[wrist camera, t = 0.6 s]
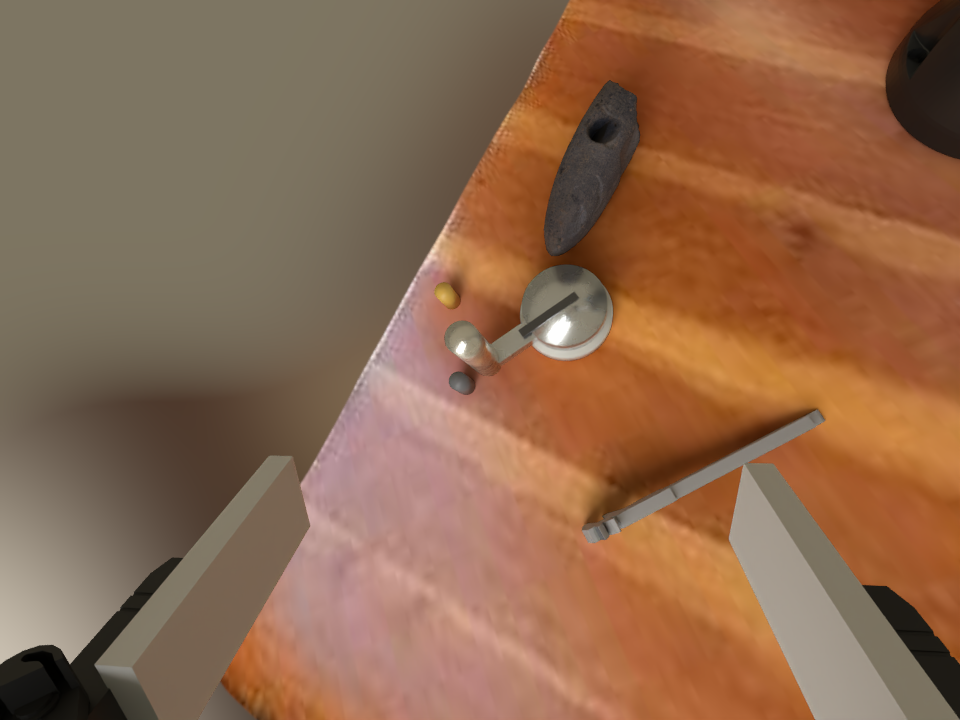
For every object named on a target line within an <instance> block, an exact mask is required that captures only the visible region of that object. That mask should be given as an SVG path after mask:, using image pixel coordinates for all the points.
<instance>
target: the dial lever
mask: <svg viewBox="0 0 960 720" xmlns="http://www.w3.org/2000/svg"><path fill="white" fill-rule="evenodd" d="M522 314H523V318H524V322H522V323H521V324H519V325H518V326H516V327H515V328H513V329H512V330H511V331H509V332H508V333H506V334H505V335H503V336H502V337H500V338H499V339H498V340H496V341H495V342H493V343H492V344H490V343H489V342H488V341H487V340H486V339H485V338H484V337H483V335H482V334H481V333H480V332H479V331H478V330H477V329H476V328H475V327H474V325H473V324H471V323H470V322H467V321H457V322H455V323H453V324H452V325H450V326H449V327H448V329H447V331H446V333H445V344H446V346H447V348H448V349H449V350H450V351H451V352H453V353H454V354H455V355H456V356H458V357H459V358H460V359H462V360H463V361H464V362H466V363H467V364H468V365H469V366H471V367H472V368H473V369H475V370H476V371H477V372H478V373H480V374H481V375H483V376H493V375H495V374H497V373H498V372H499V370H500V369H501V366H502V365H504V364H505V363H507V362H508V361H510V360H511V359H513V358H514V357H515V356H517V355H518V354H520V353H521V352H523V351H524V350H526V349H527V348H529V347H530V346H531V345H533V344H534V343H536V342H537V341H538V342H540V343H541V344H542V345H544V346H546V347H548V348H551V349H554V350H559V351H570V350H575V349H579V348H581V347H584V346H586V345H587V344H589V343H590V342H592V341H593V340H594V339H595V338H596V337H597V336H598V335H599V333H600V332H601V330H602V328H603V326H604V324H605V321H606V317H607V295H606V292H605V289H604V287H603V285H602V283H601V282H600V280H599V279H598V278H597V277H596V276H595V275H594V274H593V273H591V272H590V271H588V270H587V269H584V268H582V267H579V266H575V265H558V266H553V267H550V268H548V269H546V270H544V271H542V272H541V273H539V274H538V275H537V276H536V277H535V278H534V279H533V280H532V281H531V282H530V283H529V285H528V286H527V288H526V290H525V293H524V296H523V300H522Z"/></svg>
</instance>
